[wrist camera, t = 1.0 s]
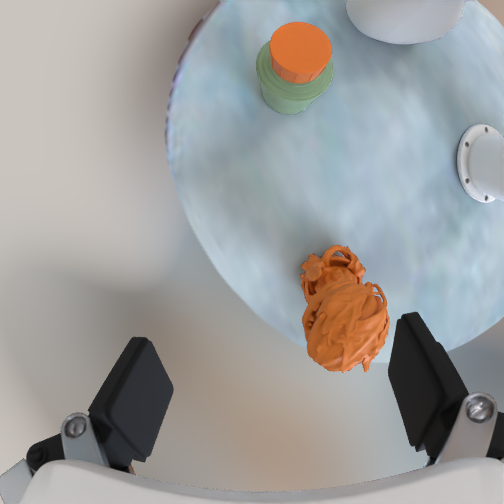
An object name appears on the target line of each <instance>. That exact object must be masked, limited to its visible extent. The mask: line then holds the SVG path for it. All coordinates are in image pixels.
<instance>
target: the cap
mask: <svg viewBox="0 0 504 504" xmlns="http://www.w3.org/2000/svg"><path fill="white" fill-rule="evenodd" d="M269 50H270V59H271V65H272V68H273V70H274V71H275V72H276V74H277V75H278V76H279V77H280V78H282V79H284V80H286V81H288V82H291V83H307V82H310V81H312V80H314V79H315V78H316V77H317V76H319V75H320V74H321V73H322V72H323V70H324V69H325V68H326V67H325V66H326V65H327V63H328V62H329V60H330V58H331V54H332V47H331V43H330V41H329V39H328V37H327V36H326V34H325V33H324V32H323V31H321V30H320V29H319V28H317V27H316V26H313V25H311V24H308V23H303V22H292V23H288V24H285V25H283V26H281V27H280V28H278V29H277V30H276V31H275V32H274V34H273V35H272V37H271V41H270V44H269Z"/></svg>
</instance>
